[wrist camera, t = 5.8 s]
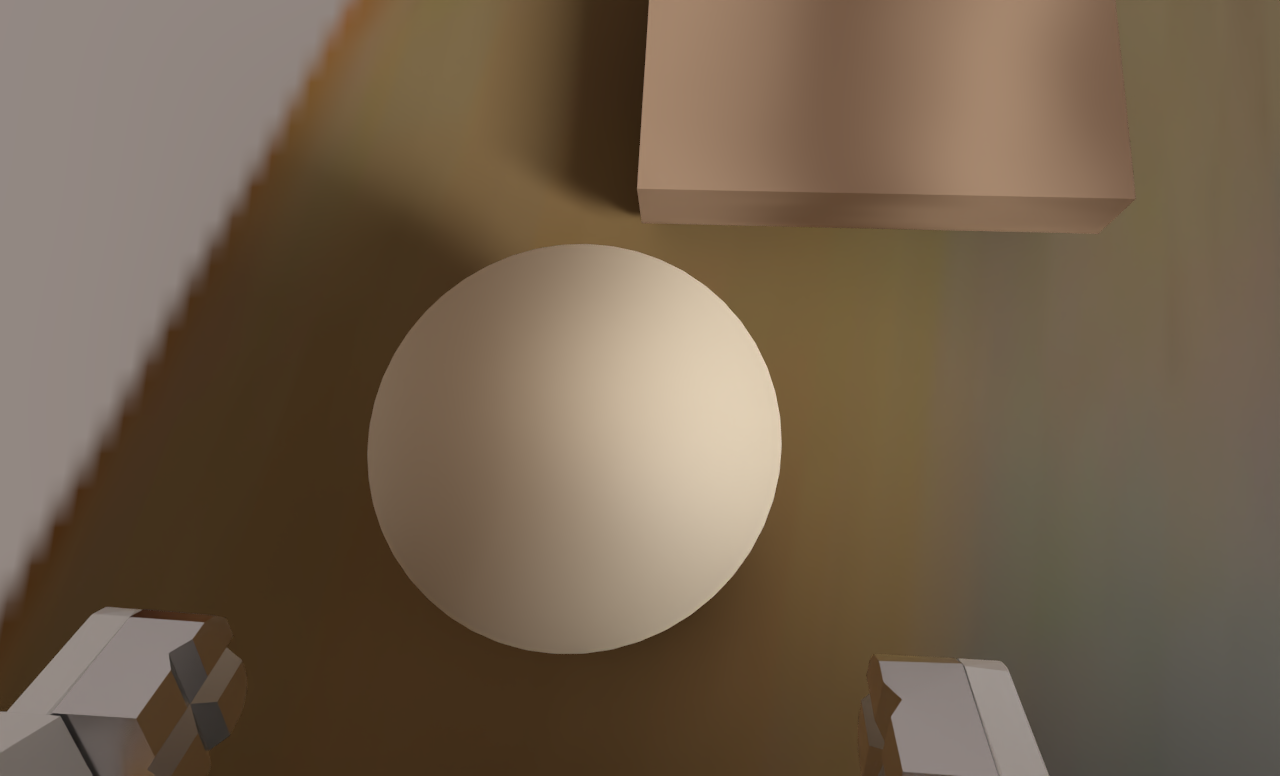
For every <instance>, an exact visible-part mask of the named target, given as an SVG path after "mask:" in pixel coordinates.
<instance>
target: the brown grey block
mask: <svg viewBox="0 0 1280 776" xmlns="http://www.w3.org/2000/svg"><path fill="white" fill-rule="evenodd" d="M637 192H638V199H639V206H640V213H641V220H642V223H661V224H704V225H747V226H790V227H833V228H876V229H919V230H962V231H1005V232H1048V233H1091V234H1099V233H1100V232H1101V231H1102V230H1103V229H1104V228H1105V227H1106V226H1107V225H1108V224H1109V223H1110V222H1112V221H1113V220H1114V219H1115V218H1116V217H1117V216H1118V215H1119V214H1120V213H1121V212H1122V211H1123V210H1124V209H1125V208H1127V207H1128V206H1129V205H1130V204H1131V203H1132V202H1133V201H1134V200H1135V199H1136V195H1135V186H1134V176H1133V166H1132V157H1131V147H1130V137H1129V128H1128V118H1127V108H1126V98H1125V89H1124V79H1123V69H1122V60H1121V50H1120V40H1119V31H1118V21H1117V11H1116V1H1115V0H649V10H648V26H647V41H646V57H645V72H644V88H643V104H642V119H641V135H640V150H639V166H638V181H637Z"/></svg>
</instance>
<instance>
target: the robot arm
mask: <svg viewBox="0 0 1280 776" xmlns="http://www.w3.org/2000/svg"><path fill="white" fill-rule="evenodd" d="M233 636H234V635H233V633H232V631H231V628H230V626H229V623H228V621H227V619H226V618H225V617H220V616H215V615H204V614H193V613H181V612H170V611H158V610H147V609H143V610H142V609H129V608H117V607H105V608H103V609H101V610H99V611H97V612H95V613H93V614H92V615H91V616H90V617H89V618H88V619H87V620H86V622H85V623H84V624H83V625H82V626H81V627H80V628H79V630H78V631H77V632H76V633H75V634H74V635H73V636H72V638H71V639H70V640H69V641H68V642H67V643H66V644H65V646H64V647H63V648H62V649H61V650H60V651H59V652H58V654H57V655H56V656H55V657H54V658H53V659H52V660H51V662H50V663H49V664H48V665H47V666H46V667H45V668H44V670H43V671H42V672H41V673H40V674H39V675H38V676H37V678H36V679H35V680H34V681H33V682H32V683H31V684H30V686H29V687H28V688H27V689H26V690H25V691H24V692H23V694H22V695H21V696H20V697H19V698H18V699H17V700H16V702H15V703H14V704H13V705H12V706H11V707H10V708H9V710H8V711H7V712H2V711H0V776H207V774H208V773H209V771H210V769H211V768H212V766H211V759H210V753H209V750H210V749H212V748H213V747H214V746H216V745H217V744H219V743H220V742H221V741H223V740H224V739H226V738H227V737H229V736H230V735H231V733H232V731H233V729H234V727H235V726H236V724H237V722H238V720H239V718H240V717H241V715H242V711H243V707H244V703H245V699H246V695H247V692H248V690H247V673H246V670H245V667H244V664H243V661H242V660H241V659H240V658H239V657H238V656H236V655H235V654H234V653H233V652H232V651H230V650H229V649H228V648H227V646H228V644H229V643H230V641H231V640H232V638H233ZM866 676H867V681H868V687H869V692H870V694H869V695H867V696H866V697H865V698H863V699H862V700H861V705H860V711H859V718H858V752H859V762H860V769H861V775H862V776H1049V774H1048V771H1047V769H1046V766H1045V764H1044V761H1043V758H1042V756H1041V753H1040V751H1039V748H1038V745H1037V743H1036V740H1035V738H1034V735H1033V732H1032V730H1031V727H1030V725H1029V722H1028V719H1027V717H1026V714H1025V712H1024V709H1023V706H1022V704H1021V701H1020V699H1019V696H1018V693H1017V691H1016V688H1015V686H1014V683H1013V680H1012V678H1011V675H1010V673H1009V670H1008V668H1007V667H1006V666H1005V665H1004V664H1003V663H1002V661H995V660H977V659H955V658H948V657H927V656H906V655H885V654H873V656H872V657H871V659H870V661H869V665H868V670H867V675H866Z"/></svg>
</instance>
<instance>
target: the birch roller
mask: <svg viewBox="0 0 1280 776" xmlns="http://www.w3.org/2000/svg"><path fill="white" fill-rule="evenodd" d="M781 447H782V442H781V423H780V414H779V409H778V404H777V398H776V393H775V390H774V387H773V384H772V381H771V378H770V374H769V371H768V368H767V366H766V364H765V362H764V360H763V358H762V356H761V354H760V352H759V350H758V347H757V345H756V343H755V342H754V340H753V339H752V337H751V336H750V334H749V333H748V331H747V330H746V328H745V327H744V325H743V324H742V322H741V321H740V320H739V319H738V318H737V316H736V315H735V314H734V313H733V312H732V311H731V310H730V308H729V307H728V306H727V305H726V304H725V303H724V302H723V301H722V300H721V299H720V298H719V297H718V296H716V295H715V294H714V293H713V292H712V291H711V290H710V289H708V288H707V287H706V286H705V285H704V284H702V283H701V282H699V281H698V280H696V279H695V278H693V277H692V276H690V275H689V274H687V273H686V272H684V271H682V270H680V269H678V268H676V267H674V266H672V265H670V264H668V263H666V262H664V261H662V260H660V259H657V258H654V257H651V256H648V255H645V254H643V253H640V252H637V251H632V250H627V249H623V248H618V247H613V246H604V245H592V244H573V245H558V246H551V247H545V248H539V249H534V250H530V251H527V252H523V253H520V254H516V255H513V256H510V257H508V258H505V259H503V260H500V261H498V262H496V263H493V264H491V265H488V266H486V267H485V268H483V269H481V270H479V271H478V272H476V273H474V274H472V275H471V276H469V277H467V278H465V279H464V280H463V281H461V282H460V283H458V284H457V285H456V286H454V287H453V288H452V289H450V290H449V291H448V292H446V293H445V294H444V295H443V296H442V297H440V298H439V299H438V300H437V301H436V302H435V303H434V304H433V305H432V306H431V307H430V308H429V309H428V310H427V311H426V312H425V313H424V314H423V315H422V316H421V318H420V319H419V320H418V321H417V322H416V323H415V325H414V326H413V327H412V328H411V329H410V331H409V332H408V333H407V335H406V337H405V338H404V340H403V341H402V343H401V344H400V346H399V347H398V349H397V350H396V352H395V354H394V356H393V358H392V360H391V362H390V364H389V366H388V368H387V370H386V372H385V374H384V376H383V379H382V381H381V384H380V387H379V390H378V393H377V396H376V399H375V402H374V407H373V412H372V416H371V421H370V426H369V437H368V450H367V459H368V477H369V485H370V490H371V495H372V501H373V506H374V509H375V512H376V515H377V518H378V521H379V524H380V527H381V530H382V533H383V535H384V537H385V539H386V541H387V543H388V545H389V547H390V549H391V551H392V553H393V555H394V557H395V558H396V560H397V561H398V563H399V564H400V566H401V567H402V569H403V570H404V571H405V573H406V574H407V576H408V577H409V579H410V580H411V581H412V582H413V583H414V584H415V585H416V586H417V588H418V589H419V590H420V591H421V592H422V593H423V594H424V595H425V596H426V598H427V599H429V600H430V601H431V602H432V603H433V604H435V605H436V606H437V607H438V608H439V609H441V610H442V611H443V612H444V613H445V614H447V615H448V616H449V617H451V618H452V619H454V620H455V621H457V622H459V623H460V624H462V625H463V626H465V627H467V628H468V629H470V630H472V631H473V632H476V633H478V634H480V635H483V636H485V637H487V638H489V639H492V640H494V641H496V642H499V643H502V644H506V645H509V646H513V647H517V648H520V649H524V650H529V651H536V652H544V653H551V654H585V653H592V652H599V651H605V650H612V649H616V648H619V647H623V646H626V645H629V644H633V643H636V642H640V641H642V640H644V639H647V638H649V637H651V636H653V635H656V634H658V633H660V632H663V631H665V630H667V629H669V628H670V627H672V626H673V625H675V624H677V623H678V622H680V621H682V620H683V619H685V618H686V617H688V616H690V615H691V614H693V613H694V612H695V611H696V610H698V609H699V608H700V607H701V606H702V605H704V604H705V603H706V602H707V601H709V600H710V599H711V598H712V597H713V596H715V594H716V593H717V592H718V591H719V590H720V589H721V588H722V587H723V586H724V585H725V584H726V583H727V582H728V581H729V579H730V578H731V577H732V576H733V575H734V574H735V572H736V571H737V570H738V568H739V567H740V565H741V564H742V563H743V561H744V560H745V558H746V557H747V556H748V554H749V553H750V551H751V549H752V548H753V546H754V544H755V542H756V540H757V538H758V536H759V534H760V532H761V530H762V529H763V527H764V524H765V521H766V519H767V516H768V513H769V510H770V508H771V505H772V502H773V499H774V495H775V490H776V486H777V481H778V477H779V471H780V459H781Z"/></svg>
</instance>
